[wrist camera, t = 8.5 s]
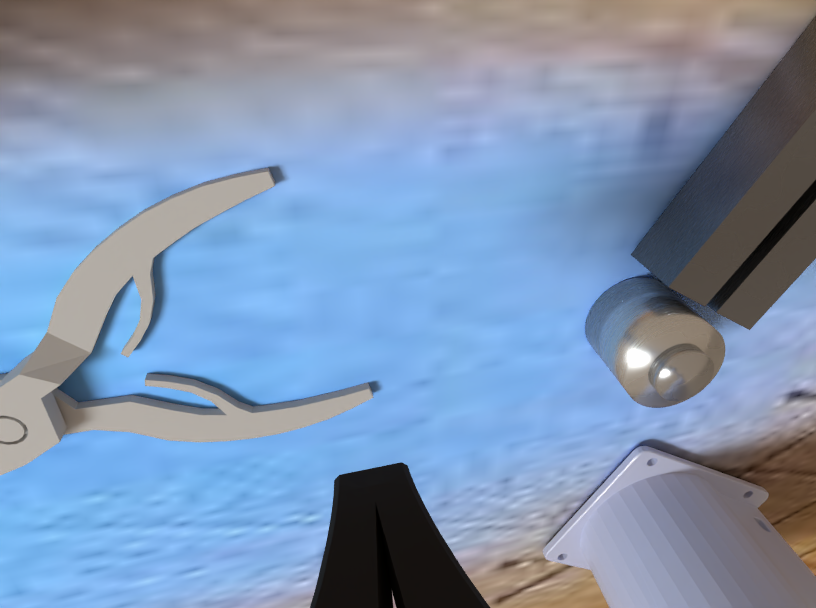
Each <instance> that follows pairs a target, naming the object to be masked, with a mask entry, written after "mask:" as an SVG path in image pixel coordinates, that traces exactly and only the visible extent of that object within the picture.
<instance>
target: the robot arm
mask: <svg viewBox="0 0 816 608" xmlns="http://www.w3.org/2000/svg"><path fill="white" fill-rule="evenodd" d="M768 496H769V494H768V492H767V491H766V490H765V489H764V488H763V487H761V486H758V485H755V484H752V483H750V482H747V481H744V480H741V479H738V478H735V477H733V476H730V475H727V474H724V473H721V472H719V471H716V470H713V469H710V468H707V467H705V466H702V465H699V464H696V463H693V462H691V461H688V460H685V459H682V458H679V457H676V456H674V455H671V454H668V453H665V452H662V451H660V450H657V449H654V448H651V447H648V446H640V447H638V448H636V449H635V450H633V451H632V453H631V454H630V455H629V456H628V457H627V458H626V459H625V460H624V461H623V462H622V463H621V465H620V466H619V467H618V468H617V469H616V470H615V471H614V472H613V473H612V474H611V475H610V477H609V478H608V479H607V480H606V481H605V482H604V483H603V484H602V485H601V486H600V487H599V489H598V490H597V491H596V492H595V493H594V494H593V495H592V496H591V497H590V498H589V499H588V501H587V502H586V503H585V504H584V505H583V506H582V507H581V508H580V509H579V510H578V511H577V513H576V514H575V515H574V516H573V517H572V518H571V519H570V520H569V521H568V522H567V523H566V524H565V526H564V527H563V528H562V529H561V530H560V531H559V532H558V533H557V534H556V535H555V536H554V538H553V539H552V540H551V541H550V542H549V543H548V544H547V545H546V546H545V548H544V549H543V553H544V556H545V558H546V559H547V560H549V561H553V562H558V563H562V564H567V565H571V566H576V567H580V568H585V569H589V570H591V571H592V573H593V575H594V577H595V579H596V581H597V583H598V585H599V587H600V589H601V591H602V593H603V595H604V597H605V599H606V601H607V603H608V606H609V608H816V576H815V575H814V574H813V573H812V572H811V570H810V569H809V568H808V567H807V566H806V565H805V563H804V562H803V561H802V560H801V559H800V557H799V556H798V555H797V554H796V553H795V552H794V550H793V549H792V548H791V547H790V546H789V545H788V543H787V542H786V541H785V540H784V539H783V538H782V536H781V535H780V534H779V533H778V532H777V530H776V529H775V528H774V527H773V526H772V525H771V523H770V522H769V521H768V520H767V519H766V518H765V516H764V515H763V514H762V513H761V512H760V511H759V509H758V507H759V506H761V505H762V504H763V503H764V502H765V501H766V500H767V499H768ZM392 592H393V596H394V600H395V604H396V608H490V607H489V605H488V604H487V603H486V601H485V600H484V599H483V597H482V596H481V594H480V593H479V591H478V590H477V589H476V587H475V586H474V584H473V583H472V582H471V580H470V579H469V577H468V576H467V574H466V573H465V571H464V570H463V568H462V567H461V566H460V564H459V563H458V561H457V559H456V558H455V556H454V555H453V553H452V551H451V550H450V548H449V547H448V545H447V543H446V542H445V540H444V539H443V537H442V535H441V534H440V532H439V530H438V529H437V527H436V525H435V524H434V522H433V520H432V518H431V516H430V514H429V513H428V511H427V509H426V507H425V505H424V503H423V501H422V499H421V497H420V495H419V493H418V491H417V489H416V487H415V484H414V482H413V479H412V477H411V474H410V472H409V468H408V466H407V465H405V464H404V463H402V462H401V463H396V464H392V465H387V466H382V467H377V468H372V469H367V470H362V471H357V472H352V473H347V474H342V475H339V476H338V477H337V478H336V479H335V480H334V497H333V507H332V514H331V520H330V526H329V531H328V537H327V542H326V547H325V551H324V555H323V560H322V564H321V568H320V573H319V577H318V581H317V585H316V589H315V593H314V596H313V600H312V603H311V606H310V608H393V599H392Z"/></svg>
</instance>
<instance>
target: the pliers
mask: <svg viewBox="0 0 816 608" xmlns="http://www.w3.org/2000/svg"><path fill="white" fill-rule="evenodd" d="M274 186H275V181H274V179H273V176H272V174H271V172H270V170H269V168H264V169H259V170H254V171H249V172H244V173H238V174H234V175H230V176H226V177H222V178H218V179H215V180H211V181H207V182H203V183H201V184H198V185H196V186H193V187H191V188H188V189H186V190H183V191H181V192H178V193H176V194H174V195H171V196H170V197H168V198H166V199H164V200H162V201H160V202H158V203H156V204H154V205H152V206H150V207H148V208H147V209H145V210H143V211H142V212H140V213H139V214H137V215H136V216H134V217H133V218H132V219H130V220H129V221H127V222H126V223H124V224H123V225H121V226H120V227H119V228H118V229H116V230H115V231H114V232H113V233H112V234H110V235H109V236H108V237H107V238H106V239H104V240H103V241H102V242H101V243H100V244H98V245H97V246H96V247H95V248H94V249H93V250H92V251H91V253H90V254H89V255H88V256H87V257H86V258H85V259H84V260H83V261H82V262H81V263H80V264H79V266H78V267H77V268H76V269H75V270H74V272H73V273H72V275H71V276H70V278H69V280H68V281H67V283H66V284H65V286H64V287H63V289H62V290H61V292H60V294H59V295H58V297H57V299H56V302H55V306H54V309H53V313H52V316H51V320H50V323H49V327H48V330H47V333H46V334H45V336H44V338H43V339H42V341H41V342H40V344H39V345H38V347H37V348H36V350H35V351H34V352H33V353H31V354H30V355H28V356H27V357H25V358H24V359H23V360H22V361H21V362H20V363H19V364H18V365H17V366H16V367H15V368H14V369H12V370H11V371H10V372H9V373H5V374H0V475H2V474H5V473H7V472H10V471H12V470H14V469H17V468H19V467H22V466H24V465H26V464H28V463H29V462H31V461H32V460H34V459H35V458H37V457H38V456H40V455H41V454H42V453H44V452H45V451H47V450H48V449H50V448H51V447H53V446H54V445H56V444H57V443H59V442H60V440H61V438H62V436H63V435H64V434H71V433H77V432H83V431H89V430H104V431H121V432H132V433H137V434H141V435H146V436H151V437H155V438H160V439H165V440H170V441H187V442H218V441H232V440H241V439H250V438H257V437H263V436H269V435H275V434H280V433H284V432H288V431H292V430H295V429H299V428H303V427H306V426H309V425H312V424H315V423H318V422H321V421H324V420H327V419H330V418H332V417H334V416H336V415H339V414H341V413H343V412H345V411H347V410H350V409H352V408H354V407H356V406H358V405H360V404H362V403H363V402H365V401H367V400H369V399H371V398H373V393H372V390H371V388H370V386H369V384H368V383H364V384H361V385H357V386H354V387H350V388H347V389H343V390H339V391H335V392H331V393H327V394H323V395H318V396H314V397H310V398H305V399H301V400H296V401H290V402H283V403H276V404H269V405H261V406H250V405H247V404H245V403H242V402H239V401H237V400H236V399H234V398H232V397H231V396H229V395H228V394H226V393H225V392H223V391H221V390H220V389H218V388H216V387H213V386H210V385H208V384H205V383H203V382H200V381H197V380H195V379H189V378H183V377H178V376H172V375H161V374H149V373H147V375H146V378H145V386H153V387H164V388H171V389H176V390H182V391H187V392H191V393H193V394H196V395H198V396H200V397H203V398H205V399H207V400H210V401H212V402H213V403H214V404H215V405H216V406H217V407H218V408H197V407H192V406H186V405H180V404H174V403H169V402H164V401H159V400H155V399H150V398H145V397H140V396H135V395H128V396H120V397H113V398H106V399H99V400H92V401H85V402H77V401H76V400H74V399H73V398H71V397H70V396H68V395H67V394H65V393H64V392H62V391H61V390H59V389H58V388H57V387H58V386H60V385H61V384H62V383H63V382H64V381H65V380H66V379H67V378H68V377H69V376H70V375H71V374H72V372H73V371H74V370H75V369H76V368H77V367H78V366H79V365H80V364H81V363H82V362H83V361H84V360H85V359H86V358H87V357H88V356H89V355H90V354H91V352H92V350H93V348H94V346H95V344H96V341H97V339H98V336H99V334H100V331H101V328H102V326H103V323H104V321H105V318H106V316H107V313H108V311H109V309H110V307H111V305H112V302H113V300H114V298H115V296H116V294H117V293H118V292H119V291H120V290H121V288H122V287H123V286H124V285H125V284H126V283H127V282H128V280H129V279H130V278H131V277H132V276H133V278H134V281H135V284H136V286H137V289H138V292H139V294H140V297H141V312H140V321H139V323H138V325H137V327H136V329H135V332H134V333H133V335H132V336H131V338H130V339H129V340H128V342H127V343H126V345H125V346H124V348H123V350H122V353H121V354H122V355H124V356H126V357H129V355H130V354H131V353H132V351H133V350H134V349H135V347H136V346H137V345H138V343H139V342H140V340H141V339H142V337H143V335H144V333H145V331H146V329H147V327H148V325H149V323H150V321H151V318H152V313H153V307H154V301H155V295H156V294H155V286H154V278H153V270H152V268H153V263H154V257H155V256H156V255H158V254H159V253H160V252H162V251H163V250H164V249H166V248H167V247H168V246H170V245H171V244H172V243H174V242H175V241H176V240H178V239H179V238H181V237H182V236H184V235H185V234H186V233H188V232H189V231H191V230H192V229H194V228H195V227H197V226H199V225H200V224H202V223H204V222H206V221H208V220H209V219H211V218H213V217H215V216H216V215H218V214H220V213H222V212H224V211H226V210H228V209H229V208H231V207H233V206H235V205H237V204H239V203H241V202H242V201H244V200H246V199H248V198H251V197H253V196H255V195H257V194H259V193H261V192H263V191H265V190H267V189H270V188H272V187H274Z"/></svg>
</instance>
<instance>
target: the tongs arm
mask: <svg viewBox="0 0 816 608" xmlns="http://www.w3.org/2000/svg"><path fill="white" fill-rule="evenodd" d="M815 180H816V17H815V18H814V19H813V21H812V22H811V23H810V24H809V26H808V27H807V28H806V30H805V31H804V32H803V34H802V35H801V36H800V37H799V39H798V40H797V41H796V43H795V44H794V45H793V46H792V48H791V49H790V50H789V52H788V53H787V54H786V55H785V57H784V58H783V59H782V61H781V62H780V63H779V64H778V66H777V67H776V68H775V70H774V71H773V72H772V73H771V75H770V76H769V77H768V79H767V80H766V81H765V82H764V84H763V85H762V86H761V88H760V89H759V90H758V91H757V93H756V94H755V95H754V97H753V98H752V99H751V100H750V102H749V103H748V104H747V106H746V107H745V108H744V109H743V111H742V112H741V113H740V115H739V116H738V117H737V119H736V120H735V121H734V122H733V124H732V125H731V126H730V128H729V129H728V130H727V131H726V133H725V134H724V135H723V137H722V138H721V139H720V140H719V142H718V143H717V144H716V146H715V147H714V148H713V149H712V151H711V152H710V153H709V155H708V156H707V157H706V158H705V160H704V161H703V162H702V164H701V165H700V166H699V167H698V169H697V170H696V171H695V173H694V174H693V175H692V176H691V178H690V179H689V180H688V182H687V183H686V184H685V185H684V187H683V188H682V189H681V191H680V192H679V193H678V195H677V196H676V197H675V198H674V200H673V201H672V202H671V204H670V205H669V206H668V207H667V209H666V210H665V211H664V213H663V214H662V215H661V216H660V218H659V219H658V220H657V222H656V223H655V224H654V225H653V227H652V228H651V229H650V231H649V232H648V233H647V234H646V236H645V237H644V238H643V240H642V241H641V242H640V243H639V245H638V246H637V247H636V249H635V250H634V251H633V252H632V254H631V255H632V256H633V257H634V258H635V259H637V260H638V261H639V262H640V263H641V264H642V265H643V266H645V267H646V268H647V269H648V270H649V271H650V272H651V273H653V274H654V275H655V276H656V277H657V278H658V279H660V280H661V281H662V282H663V283H664V284H665V285H666V286H668V287H669V288H671V289H673V290H675V291H677V292H678V293H680V294H682V295H684V296H686V297H688V298H690V299H692V300H694V301H695V302H697V303H699V304H701V305H703V306H706V305H707V304H708V302H709V301H710V300H711V299H712V298H713V297H714V295H715V294H716V293H717V292H718V291H719V290H720V289H721V287H722V286H723V285H724V284H725V283H726V282H727V281H728V279H729V278H730V277H731V276H732V275H733V274H734V273H735V271H736V270H737V269H738V268H739V267H740V266H741V265H742V263H743V262H744V261H745V260H746V259H747V258H748V257H749V255H750V254H751V253H752V252H753V251H754V250H755V248H756V247H757V246H758V245H759V244H760V243H761V242H762V240H763V239H764V238H765V237H766V236H767V235H768V234H769V232H770V231H771V230H772V229H773V228H774V227H775V226H776V224H777V223H778V222H779V221H780V220H781V219H782V218H783V216H784V215H785V214H786V213H787V212H788V211H789V210H790V208H791V207H792V206H793V205H794V204H795V203H796V201H797V200H798V199H799V198H800V197H801V196H802V195H803V193H804V192H805V191H806V190H807V189H808V188H809V187H810V185H811V184H812V183H813V182H814V181H815Z"/></svg>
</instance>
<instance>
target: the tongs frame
mask: <svg viewBox="0 0 816 608" xmlns="http://www.w3.org/2000/svg"><path fill="white" fill-rule="evenodd" d="M815 258H816V180H815V181H814V182H813V183H812V184H811V185H810V187H809V188H808V189H807V190H806V191H805V192H804V193H803V195H802V196H801V197H800V198H799V199H798V200H797V201H796V203H795V204H794V205H793V206H792V207H791V208H790V210H789V211H788V212H787V213H786V214H785V215H784V216H783V218H782V219H781V220H780V221H779V222H778V223H777V224H776V226H775V227H774V228H773V229H772V230H771V231H770V232H769V234H768V235H767V236H766V237H765V238H764V239H763V240H762V242H761V243H760V244H759V245H758V246H757V247H756V248H755V250H754V251H753V252H752V253H751V254H750V255H749V257H748V258H747V259H746V260H745V261H744V262H743V263H742V265H741V266H740V267H739V268H738V269H737V270H736V271H735V273H734V274H733V275H732V276H731V277H730V278H729V279H728V281H727V282H726V283H725V284H724V285H723V286H722V287H721V289H720V290H719V291H718V292H717V293H716V294H715V295H714V297H713V298H712V299H711V300H710V301H709V302H708V304H707V305H708V306H709V307H710V308H712V309H713V310H714V311H715V312H716V313H718V314H720V315H722V316H724V317H726V318H728V319H730V320H732V321H734V322H736V323H737V324H739V325H741V326H743V327H745V328H747V329H749V330H750V329H751V328H752V327H753V326H754V325H755V324H756V322H757V321H758V320H759V319H760V318H761V317H762V316H763V315H764V314H765V313H766V312H767V310H768V309H769V308H770V307H771V306H772V305H773V304H774V303H775V302H776V301H777V300H778V299H779V297H780V296H781V295H782V294H783V293H784V292H785V291H786V290H787V289H788V288H789V287H790V286H791V284H792V283H793V282H794V281H795V280H796V279H797V278H798V277H799V276H800V275H801V274H802V273H803V271H804V270H805V269H806V268H807V267H808V266H809V265H810V264H811V263H812V262H813V261H814V260H815ZM585 334H586V338H587V340H588V342H589V344H590V345H591V346H592V348H593V349H594V350H595V352H596V353H597V354H598V355H599V357H600V358H601V359H602V361H603V362H604V363H605V364H606V366H607V367H608V368H609V370H610V371H611V372H612V373H613V375H614V376H615V377H616V379H617V380H618V381H619V382H620V384H621V385H622V386H623V388H624V389H625V390H626V391H627V393H628V394H629V395H630V397H631V398H632V399H633V400H634V401H636V402H637V403H639V404H641V405H643V406H646V407H652V408H661V407H668V406H672V405H676V404H678V403H681V402H683V401H685V400H687V399H689V398H691V397H693V396H694V395H696V394H698V393H699V392H700V391H702V390H703V389H704V388H705V387H706V386H707V385H708V384H709V383H710V382H711V381H712V379H713V378H714V377H715V376H716V374H717V373H718V371H719V369H720V367H721V365H722V363H723V360H724V356H725V343H724V340H723V337H722V336H721V334H720V333H719V332H718V331H717V330H716V329H715V328H714V327H713V326H711V325H710V324H709V323H708V322H707V321H706V320H704V319H703V318H702V317H701V316H700V315H699V314H698V313H696V312H695V311H694V310H693V309H692V308H691V307H690V306H688V305H687V304H686V303H685V302H684V301H683V300H682V299H680V298H679V297H678V296H677V295H676V294H675V293H673V292H672V291H671V290H670V289H669V288H668V287H667V286H665V285H664V284H663V283H662V282H660V281H658V280H656V279H653V278H648V277H637V278H632V279H628V280H625V281H622V282H620V283H618V284H616V285H614V286H613V287H611V288H610V289H608V290H607V291H606V292H604V293H603V294H602V295H601V296H600V297H599V298H598V299H597V301H596V302H595V303H594V305H593V306H592V308H591V309H590V311H589V313H588V316H587V319H586V324H585Z"/></svg>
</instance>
